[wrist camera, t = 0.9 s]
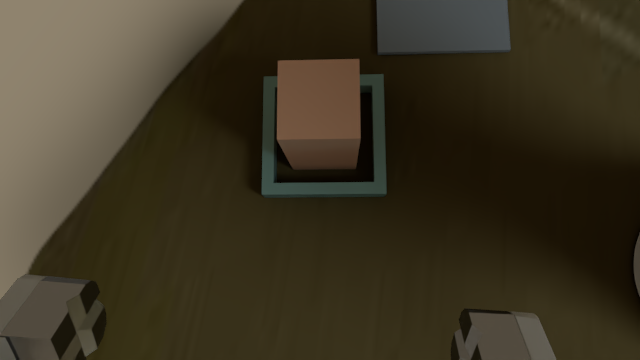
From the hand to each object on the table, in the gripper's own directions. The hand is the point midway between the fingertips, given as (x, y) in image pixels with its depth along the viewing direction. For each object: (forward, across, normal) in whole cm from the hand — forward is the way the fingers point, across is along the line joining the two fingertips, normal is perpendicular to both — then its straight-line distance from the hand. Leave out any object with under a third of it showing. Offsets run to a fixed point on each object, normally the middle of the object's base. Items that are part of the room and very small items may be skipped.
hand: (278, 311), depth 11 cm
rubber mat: (+40, -10, +1) cm, 41 cm away
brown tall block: (+30, 0, +12) cm, 33 cm away
